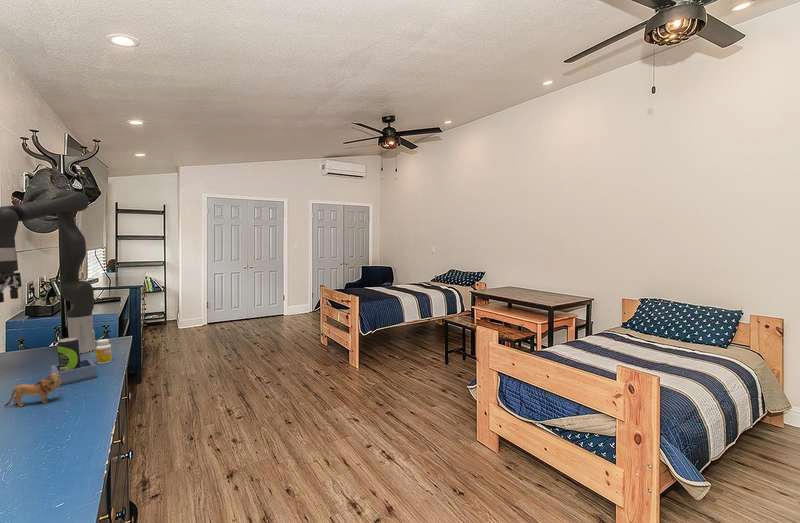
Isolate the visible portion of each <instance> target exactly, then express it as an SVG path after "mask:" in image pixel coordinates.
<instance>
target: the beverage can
mask: <svg viewBox="0 0 800 523" xmlns="http://www.w3.org/2000/svg"><path fill="white" fill-rule="evenodd" d="M56 344H57V356H58V364H59V369H60V372H62V371H66V370H71V369H76V368H81V364H80V360H81V356H80V352H79V341H78V340H77V338H76V337H71V338H69V337H66V338H61V339H59V340H58V341H57V343H56Z"/></svg>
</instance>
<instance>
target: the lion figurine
mask: <svg viewBox="0 0 800 523" xmlns="http://www.w3.org/2000/svg"><path fill="white" fill-rule="evenodd" d="M60 384H61V379H60V375H58V374H52V373H51V374H48V375H47V376H46V377H44V378H43V379H41V380H39V381H38V382H36V383H35V384H19V385H16V386H15V387H14V388H13V390H12V393H11V396H10V399H9V401H8V402H7V403H5V404H4V405H3V407H7V406H9V405H10V404H11V402H12V403H13V405H18V407H20V406H22V407H24V406H25V403H22V402H21V400H22V398H23V396H24V394H25V395H27V396H30V397H31V396H40V398H41V402H42V403H43V404H44V403H45V404H47V403H46V402H49V400H50V398H49V397H48V396H47V395H48V394H51V393H53V392H54V391H55V389H57V388H58V387H60V386H59V385H60ZM14 395H15V396H14ZM48 399H49V400H48ZM46 400H47V401H46ZM16 403H18V404H16ZM23 405H24V406H23Z"/></svg>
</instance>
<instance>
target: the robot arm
mask: <svg viewBox="0 0 800 523" xmlns="http://www.w3.org/2000/svg"><path fill="white" fill-rule="evenodd" d="M89 205H90V199H89V198H88V196H87V195H86V194H84V193H83V192H81V191H74V190H73V191H69V190H68V191H67V190H66V191H59V192H57V193H56V195H55V197H54V198H52V199H44V200H43V199H42V200H34V201H27V202H21V203H18V204H13V205H3V206H0V304H1V303H4V302H5V297H4V291H5V289H6V288H9V296H10V297H9V298H10V299H11V300H16V299H18V298H19V289H20V288H21V287H22V284H23V283H22V277H21V272H17V271H19V263H18V252H17V249H16V248H17V247H16V239H15V237H16V234H17V230H18V226H19V222H26V221H30V220H35V219H41V218H43V217H47V216H52V215H56V217H57V222H58V231H59V248H60V258H61V259H60V260H61V277H60V278H61V280H60V296H61V297H62V298H63V299H64V301H66V302H67V301H68V302H73V307H72V308H70V309H68V310H67V312H66V318H67V319H66V321H67V322H66V323H67V331H68V332H67V334H68V338H71V337H76V338H77V340H78V341H79V352H80V353H81V354H86V353H89V351H90V352H93V351H96V347H97V346H96V336H95V335H96V334H95V330H94V321H93V310H94V307H95V294H94V293H95V292H94V291H95V290H94V288H93V285H92V284H91V283H89V282H85V281H80V278H79V277H80V275H79V272H80V269H81V266H82V264H83V262H84V260H85V259H86V256H87V245H86V238H85V236H84V234H83V233H82V232H81V230H80V228H79V227H78V226H77V224H76V219H75V212H82V211H85V210H86V209H87V208H88V207H89ZM92 350H93V351H92Z"/></svg>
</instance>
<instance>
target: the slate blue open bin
mask: <svg viewBox="0 0 800 523" xmlns="http://www.w3.org/2000/svg"><path fill="white" fill-rule="evenodd" d="M80 364H81V368H76V369H71V370H66V371H62V372H60V369H59V363H58V364H53V365H50V366H51V367H50V368H51V374H58V375H60V379H61V384H60V385H59V386H58V387H61V385H62V386H66V385H65V384H67V385H70V384H69V383H71V384H75V383H79V381H80V382H82V381H83V380H84V381H88V380H87V379H89V380H93V379H97V378H98V375H97V374H98V373H97V364H95V362H94V361H93V360H92V358H86V359H85V358H84V359H80ZM74 382H75V383H74Z"/></svg>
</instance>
